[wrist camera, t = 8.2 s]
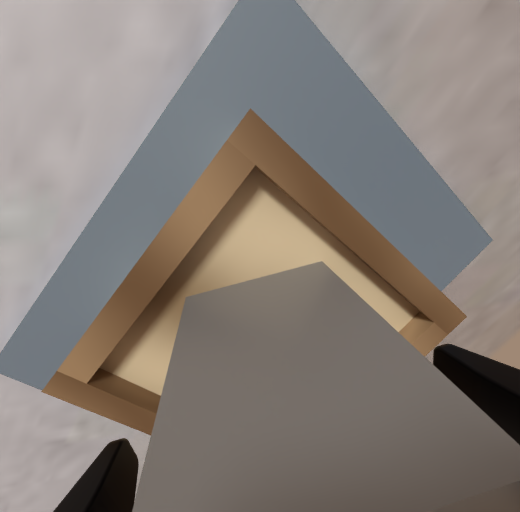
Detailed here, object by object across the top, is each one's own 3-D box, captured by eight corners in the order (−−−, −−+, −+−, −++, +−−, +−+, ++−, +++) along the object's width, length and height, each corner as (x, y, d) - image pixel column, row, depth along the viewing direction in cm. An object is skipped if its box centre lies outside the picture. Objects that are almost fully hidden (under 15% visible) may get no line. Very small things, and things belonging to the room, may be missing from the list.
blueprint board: (260, -22, 10) (264, -37, 9) (478, 236, 15) (492, 240, 14) (2, 357, 13) (-11, 369, 12) (253, 462, 18) (255, 475, 17)
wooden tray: (239, 127, 10) (250, 107, 7) (403, 278, 14) (466, 316, 10) (93, 326, 12) (41, 391, 9) (270, 415, 16) (285, 488, 12)
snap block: (321, 260, 10) (657, 574, 2) (337, 367, 11) (555, 737, 4) (185, 296, 9) (61, 796, 2) (223, 400, 11) (231, 868, 4)
